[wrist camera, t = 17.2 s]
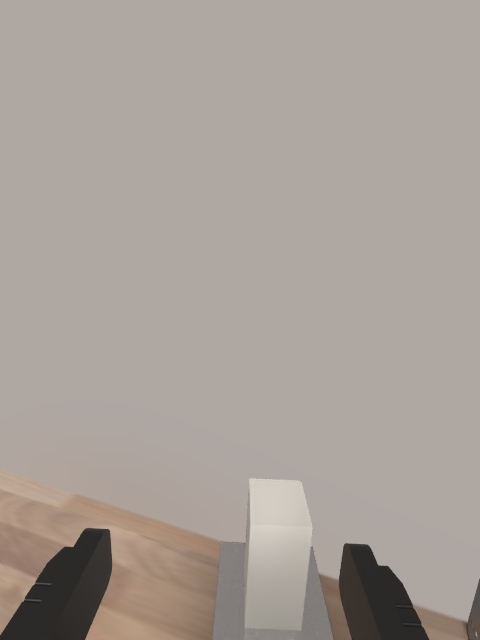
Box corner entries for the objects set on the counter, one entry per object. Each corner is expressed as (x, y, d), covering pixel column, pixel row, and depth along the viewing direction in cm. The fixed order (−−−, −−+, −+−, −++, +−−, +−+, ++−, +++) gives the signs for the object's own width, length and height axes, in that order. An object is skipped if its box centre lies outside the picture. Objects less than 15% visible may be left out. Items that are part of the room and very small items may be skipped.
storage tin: (304, 613, 35) (312, 546, 33) (327, 757, 25) (341, 673, 23) (219, 608, 36) (221, 541, 34) (207, 749, 25) (210, 665, 23)
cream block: (292, 570, 31) (301, 480, 28) (301, 630, 26) (312, 527, 23) (244, 568, 31) (249, 478, 28) (244, 627, 26) (250, 524, 23)
